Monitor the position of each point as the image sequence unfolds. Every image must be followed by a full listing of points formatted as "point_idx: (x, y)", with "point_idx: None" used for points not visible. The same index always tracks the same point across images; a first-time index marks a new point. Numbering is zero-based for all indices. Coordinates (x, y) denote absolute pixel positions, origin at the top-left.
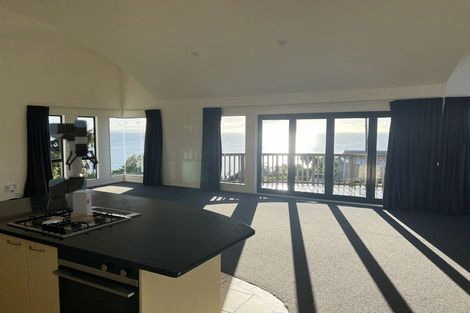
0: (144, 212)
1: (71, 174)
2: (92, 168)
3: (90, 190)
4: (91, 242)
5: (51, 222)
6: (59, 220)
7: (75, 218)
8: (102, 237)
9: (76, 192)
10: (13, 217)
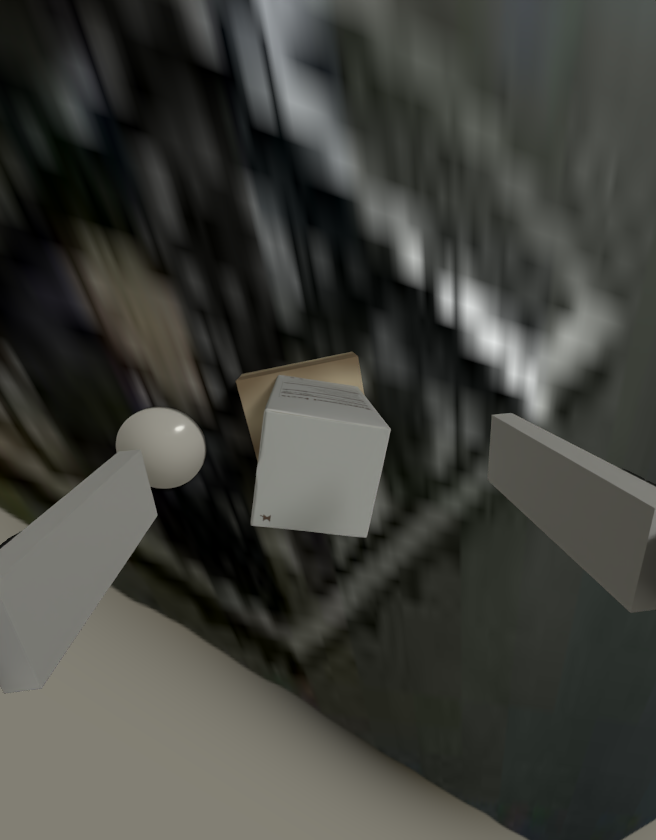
0: (639, 307)
1: (147, 524)
2: (558, 545)
3: (388, 438)
4: (400, 713)
5: (167, 466)
6: (194, 432)
7: None
8: (430, 676)
9: (284, 528)
10: None
